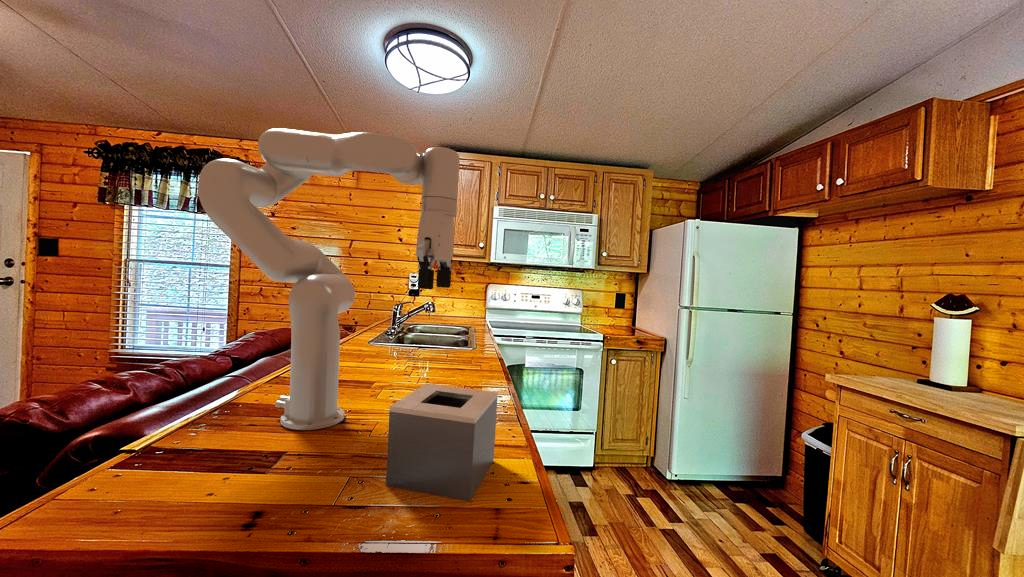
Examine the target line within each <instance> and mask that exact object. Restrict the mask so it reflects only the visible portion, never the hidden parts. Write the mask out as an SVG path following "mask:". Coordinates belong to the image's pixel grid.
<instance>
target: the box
mask: <svg viewBox="0 0 1024 577" xmlns="http://www.w3.org/2000/svg"><path fill="white" fill-rule="evenodd" d="M498 395H499V392H497V391H496V392H495V391H489V390H488V391H487V390H481V389H471V388H464V387H458V386H457V387H456V386H450V385H442V384H441V385H440V384H434V383H433V384H432V383H424V384H423V385H421V386H420V387H418V388H417V389H415V390H413V391H412V392H410V393H408V394H407V395H406V396H404V397H402V398H401V399H399V400H398V401H396V402H394V403H393V404H391V405H389V412H388V413H389V415H388V431H387V432H388V435H387V454H386V455H387V456H386V474H385V477H386V478H385V479H386V480H385V486H386V487H389V488H390V487H391V488H396V489H401V490H407V491H413V492H418V493H424V494H429V495H434V496H438V497H439V496H440V497H445V498H449V499H456V500H461V501H466V502H471V501H472V499H473V497H474V496H475V494H476V492H477V491H478V488H479V487H480V485H481V484H482V482H483V480H484V478H485V476H487V473H488V472H489V469H490V468H491V467H492V464H493V463H494V461H495V460H494V458H495V443H496V442H495V441H496V426H497V425H496V424H497V412H498V411H497V410H498V397H499V396H498Z"/></svg>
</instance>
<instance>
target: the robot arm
mask: <svg viewBox="0 0 1024 577" xmlns="http://www.w3.org/2000/svg"><path fill="white" fill-rule="evenodd" d="M258 138H259V139H258V142H257V150H258V153H259V155H260V157H261V159H262V160H263V161H264V162H265V164H264V165H262V166H261V167H259V168H258V167H256V166H252V165H250V164H249V163H245V162H243V161H240V160H237V159H232V158H217V159H214V160H211V161H209V162H208V163H207V164H205V165H204V166H203V168H202V169H201V170H200V174H199V175H198V181H197V193H198V198H199V201H200V204H201V206H202V208H203V211H204V212H205V213H206V215H207V217H208V218H209V219H210V220H211V222H213V224H214V225H215V226H216V227H217V228H218V229H219V230H220V231H221V232H223V234H224V235H225V236H226V237H228V238H229V239H230V240H231V241H232V242H233V243H234V245H236V246H237V247H238V249H239V250H240V251H241V252H242V253H243V254H244V255H245V256H246V257H247V258H248V259H249V260H250V261H251V262H252V263H253V264H254V265H255V266H256V267H257V268H258V269H259V270H260V271H261V272H262V274H264V275H265V276H266V277H268V279H270V280H272V281H273V282H279V283H280V282H281V283H291V282H293V283H294V284H293V286H292V287H291V289H290V291H289V295H288V309H289V311H288V312H289V318H290V331H291V339H290V340H291V341H290V342H291V344H290V372H289V373H290V374H289V375H290V376H289V377H290V378H289V395H284V394H283V395H280V396H279V397H278V400H276V402H275V404H274V405H275V408H282V409H284V413H283V414H282V415H281V416H280V420H279V423H280V425H281V426H282V427H284V428H285V429H290V430H295V431H313V430H319V429H320V430H321V429H324V428H325V429H326V428H329V427H333V426H335V425H337V424H339V423H341V422H343V420H344V419H345V414H346V413H345V411H344V409H342V408H341V407H338V398H339V394H338V393H339V380H340V379H339V373H340V353H341V352H340V350H341V347H340V346H341V330H340V323H339V314H343V313H345V312H346V311H348V310H349V309H350V308H351V307H352V306H353V305H354V302H355V299H356V290H355V287H354V284H353V283H352V282H351V280H350V279H349V277H347V275H346V274H345V273H344V272H343V271H342V270H341V269H340V268H339V267H338V266H337V265H336V264H335V263H333V261H332V260H331V259H330V258H329V257H328V256H327V255H326V254H325V253H324V252H323V251H322V250H321V249H319V248H318V247H317V246H315V245H314V244H313V243H311V242H309V241H305V240H301V239H296V238H292V237H289V236H288V235H287V234H286V233H285V232H284V231H283V230H281V229H280V228H279V227H278V226H277V225H276V224H275V222H274V221H272V220H271V218H270V217H268V216H267V215H266V214H265V213H264V212H262V211H261V209H262V208H267V207H270V206H273V205H276V204H277V203H278V202H280V201H281V200H283V199H284V198H285V197H287V196H288V195H290V194H291V193H292V192H294V191H295V190H296V189H298V188H300V187H301V186H302V185H303V184H305V182H307V181H308V180H309V179H310V178H312V177H313V176H314V175H319V176H320V175H321V176H325V177H326V176H328V177H335V178H336V177H338V178H339V177H343V176H344V175H345V174H346V173H348V172H352V171H359V172H360V171H361V172H362V171H363V172H364V171H365V172H371V173H373V172H374V173H380V174H381V173H383V174H388V175H390V176H392V178H394V180H396V181H397V182H399V183H401V184H403V185H408V186H409V185H410V186H413V185H414V186H415V185H421V186H422V188H421V203H420V204H421V205H420V206H421V207H420V218H419V223H418V229H417V239H416V245H415V246H416V249H415V257H416V259H417V262H418V264H417V268H418V272H417V273H418V277H417V288H418V289H421V290H433V289H434V283H435V282H434V281H435V269H434V267H435V266H434V265H435V263H436V262H437V266H438V268H437V270H436V284H435V285H436V288H444V289H445V288H446V289H449V288H451V285H452V284H451V282H452V270H453V265H452V264H453V257H454V248H455V247H454V246H455V245H454V243H455V223H454V222H455V220H454V219H455V218H456V217H457V215H458V213H457V212H458V211H457V210H458V197H459V194H458V193H459V178H460V161H461V160H460V155H459V153H458V152H457V151H456V150H454V149H451V148H448V147H442V146H436V147H435V146H434V147H429V148H427V149H426V150H425V152H422V151H419V150H418V149H417V148H416V146H415V145H414V144H413V143H412V142H411V141H409V140H408V139H405V138H403V137H400V136H397V135H391V134H383V133H375V132H369V131H368V132H367V131H364V132H363V131H361V132H360V131H358V132H348V133H341V134H334V133H333V134H331V133H324V132H314V131H305V130H298V129H290V128H271V129H268V130H266V131H264V132H263V133H262V134H261V135H260V136H259V137H258ZM259 208H261V209H259Z"/></svg>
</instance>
